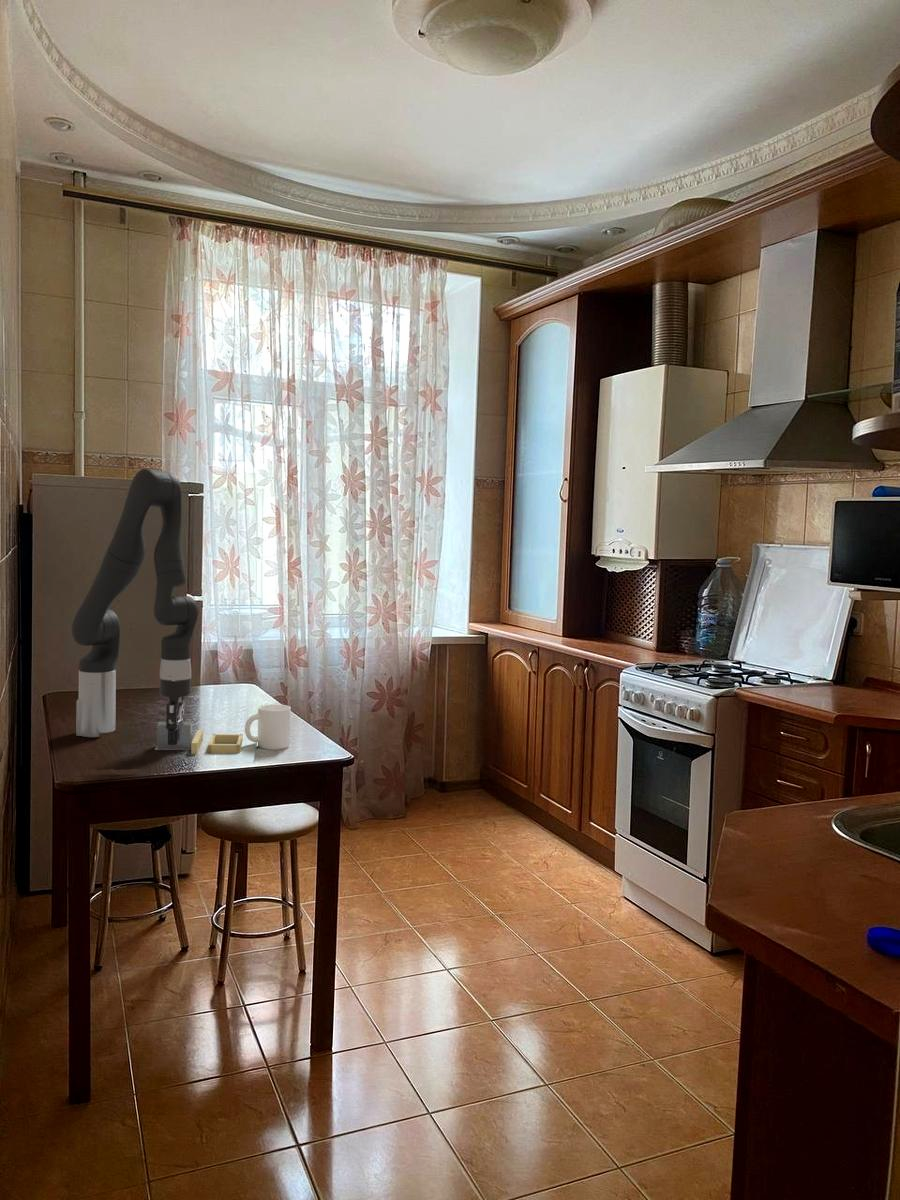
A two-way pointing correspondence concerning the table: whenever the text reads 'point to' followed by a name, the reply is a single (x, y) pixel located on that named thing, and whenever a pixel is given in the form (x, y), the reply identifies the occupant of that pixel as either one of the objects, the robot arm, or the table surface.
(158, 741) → the block
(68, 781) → the table surface
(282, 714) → the mug
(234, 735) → the white fixture board
